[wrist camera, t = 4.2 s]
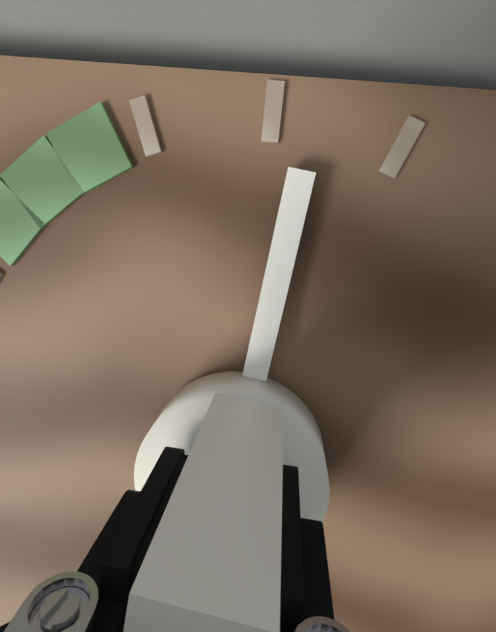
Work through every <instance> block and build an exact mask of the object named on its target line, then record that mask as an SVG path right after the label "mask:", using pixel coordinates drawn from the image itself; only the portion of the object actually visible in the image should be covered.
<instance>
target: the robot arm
mask: <svg viewBox="0 0 496 632" xmlns="http://www.w3.org/2000/svg"><path fill="white" fill-rule="evenodd" d="M187 458H188V455H185V451H184V449H180V448H173V447H167V446H166V447H165V448H164V449H163V451H162V453H161V455H160V457H159V459H158V460H157V462H156V464H155V466H154V468H153V470H152V471H151V473H150V475H149V477H148V479H147V480H146V482H145V484H144V486H143V488H142V490H141V491H135V490H129V489H128V490H127V491H126V492H125V493H124V494H123V496H122V498H121V499H120V501H119V503H118V504H117V506H116V507H115V509H114V511H113V512H112V514H111V516H110V517H109V519H108V521H107V522H106V524H105V526H104V527H103V529H102V531H101V532H100V534H99V536H98V537H97V539H96V541H95V542H94V544H93V545H92V547H91V549H90V550H89V552H88V554H87V555H86V557H85V559H84V560H83V562H82V564H81V565H80V567H79V569H78V570H77V571H74V572H63V573H60V574H56V575H54V576H52V577H50V578H48V579H46V580H44V581H43V582H41V583H40V584H39V585H38V586H36V587H35V588H34V589H33V590H32V591H31V592H30V594H29V595H28V596H27V597H26V598H25V600H24V601H23V603H22V604H21V606H20V608H19V609H18V611H17V612H16V614H15V615H14V617H13V618H12V620H11V621H10V622H8V623H6V624H4V625H2V626H0V632H123V630H124V623H125V617H126V611H127V605H128V599H129V593H130V591H131V588H132V586H133V584H134V581H135V579H136V577H137V574H138V572H139V570H140V567H141V565H142V563H143V560H144V558H145V556H146V553H147V551H148V549H149V546H150V544H151V542H152V539H153V537H154V535H155V532H156V530H157V528H158V525H159V523H160V521H161V518H162V516H163V514H164V511H165V509H166V507H167V504H168V502H169V500H170V497H171V495H172V493H173V490H174V488H175V486H176V483H177V481H178V479H179V476H180V474H181V472H182V469H183V467H184V465H185V462H186V460H187ZM280 632H350V631H349V629H348V628H346V627H345V626H344V625H342V624H341V623H339V622H338V621H336V620H334V611H333V603H332V594H331V586H330V578H329V569H328V561H327V552H326V544H325V536H324V528H323V523H322V521H318V520H312V519H306V518H300V495H299V473H298V467H296V466H290V465H283V483H282V538H281V592H280Z"/></svg>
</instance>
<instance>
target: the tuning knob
mask: <svg viewBox="0 0 496 632" xmlns="http://www.w3.org/2000/svg"><path fill="white" fill-rule="evenodd" d="M315 175H316V172H311V171H306V170H301V169H297V168H292V167H288V170H287V174H286V179H285V183H284V188H283V193H282V197H281V202H280V206H279V211H278V215H277V220H276V224H275V229H274V233H273V238H272V243H271V247H270V252H269V256H268V261H267V265H266V270H265V274H264V279H263V284H262V288H261V293H260V297H259V302H258V306H257V311H256V315H255V320H254V324H253V329H252V334H251V338H250V343H249V347H248V352H247V356H246V361H245V365H244V370H243V372H237V371H229V372H219V373H214V374H209V375H207V376H204V377H201V378H198V379H196V380H194V381H192V382H190V383H189V384H187V385H186V386H185V387H183V388H182V389H180V390H179V391H178V392H177V393H176V394H175V395H174V396H173V397H172V398H171V400H170V401H169V402H168V403H167V405H166V406H165V408H164V409H163V411H162V412H161V414H160V415H159V417H158V418H157V420H156V421H155V423H154V424H153V426H152V427H151V429H150V430H149V432H148V433H147V435H146V437H145V438H144V440H143V442H142V443H141V446H140V448H139V451H138V453H137V457H136V461H135V467H134V485H135V491H141V490H142V488H143V486H144V484H145V482H146V480H147V479H148V477H149V475H150V473H151V471H152V470H153V468H154V466H155V464H156V462H157V460H158V459H159V457H160V455H161V453H162V451H163V449H164V448H165V447H166V446H167V447H173V448H180V449H184V451H185V455H188V458H187V460H186V462H185V465H184V467H183V469H182V472H181V474H180V476H179V479H178V481H177V483H176V486H175V488H174V490H173V493H172V495H171V497H170V500H169V502H168V504H167V507H166V509H165V511H164V514H163V516H162V518H161V521H160V523H159V525H158V528H157V530H156V532H155V535H154V537H153V539H152V542H151V544H150V546H149V549H148V551H147V553H146V556H145V558H144V560H143V563H142V565H141V567H140V570H139V572H138V574H137V577H136V579H135V581H134V584H133V586H132V588H131V591H130V593H129V599H128V605H127V611H126V617H125V623H124V630H123V632H280V592H281V538H282V483H283V465H290V466H296V467H298V473H299V495H300V518H306V519H312V520H318V521H322V523H323V520H324V518H325V515H326V512H327V508H328V504H329V493H330V489H329V478H328V472H327V466H326V459H325V453H324V447H323V441H322V437H321V433H320V429H319V427H318V424H317V422H316V420H315V418H314V416H313V414H312V413H311V411H310V410H309V409H308V407H307V406H306V405H305V403H304V402H303V401H302V400H301V399H300V398H299V397H298V396H297V395H296V394H295V393H293V392H292V391H291V390H289V389H288V388H287V387H285V386H283V385H282V384H280V383H278V382H276V381H274V380H272V379H270V378H267V376H268V372H269V368H270V363H271V359H272V355H273V351H274V347H275V343H276V338H277V334H278V330H279V326H280V322H281V317H282V313H283V309H284V305H285V301H286V296H287V292H288V288H289V284H290V280H291V275H292V271H293V267H294V263H295V259H296V255H297V250H298V246H299V242H300V238H301V234H302V229H303V225H304V221H305V217H306V213H307V208H308V204H309V200H310V196H311V192H312V187H313V183H314V179H315Z"/></svg>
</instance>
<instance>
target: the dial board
mask: <svg viewBox="0 0 496 632" xmlns="http://www.w3.org/2000/svg"><path fill="white" fill-rule="evenodd" d="M288 167H292V168H297V169H301V170H306V171H311V172H316V175H315V179H314V183H313V187H312V192H311V196H310V200H309V204H308V208H307V213H306V217H305V221H304V225H303V229H302V234H301V238H300V242H299V246H298V250H297V255H296V259H295V263H294V267H293V271H292V275H291V280H290V284H289V288H288V292H287V296H286V301H285V305H284V309H283V313H282V317H281V322H280V326H279V330H278V334H277V338H276V343H275V347H274V351H273V355H272V359H271V363H270V368H269V372H268V376H267V378H270V379H272V380H274V381H276V382H278V383H280V384H282V385H283V386H285V387H287V388H288V389H289V390H291V391H292V392H293V393H295V394H296V395H297V396H298V397H299V398H300V399H301V400H302V401H303V402H304V403H305V405H306V406H307V407H308V409H309V410H310V411H311V413H312V414H313V416H314V418H315V420H316V422H317V424H318V427H319V429H320V433H321V437H322V441H323V447H324V453H325V459H326V466H327V472H328V478H329V489H330V493H329V504H328V508H327V512H326V515H325V518H324V520H323V528H324V536H325V544H326V552H327V561H328V569H329V578H330V586H331V594H332V603H333V611H334V620H336V621H338V622H339V623H341V624H342V625H344V626H345V627H346V628H348V629H349V631H350V632H496V90H489V89H474V88H460V87H446V86H431V85H417V84H403V83H389V82H374V81H360V80H346V79H332V78H317V77H303V76H289V75H275V74H260V73H246V72H232V71H218V70H203V69H189V68H175V67H161V66H146V65H132V64H118V63H104V62H89V61H75V60H61V59H47V58H32V57H18V56H4V55H0V626H2V625H4V624H6V623H8V622H10V621H11V620H12V618H13V617H14V615H15V614H16V612H17V611H18V609H19V608H20V606H21V604H22V603H23V601H24V600H25V598H26V597H27V596H28V595H29V594H30V592H31V591H32V590H33V589H34V588H35V587H36V586H38V585H39V584H40V583H41V582H43V581H44V580H46V579H48V578H50V577H52V576H54V575H56V574H60V573H63V572H74V571H77V570H78V569H79V567H80V565H81V564H82V562H83V560H84V559H85V557H86V555H87V554H88V552H89V550H90V549H91V547H92V545H93V544H94V542H95V541H96V539H97V537H98V536H99V534H100V532H101V531H102V529H103V527H104V526H105V524H106V522H107V521H108V519H109V517H110V516H111V514H112V512H113V511H114V509H115V507H116V506H117V504H118V503H119V501H120V499H121V498H122V496H123V494H124V493H125V492H126V491H127V490H128V489H129V490H135V485H134V467H135V461H136V457H137V453H138V451H139V448H140V446H141V443H142V442H143V440H144V438H145V437H146V435H147V433H148V432H149V430H150V429H151V427H152V426H153V424H154V423H155V421H156V420H157V418H158V417H159V415H160V414H161V412H162V411H163V409H164V408H165V406H166V405H167V403H168V402H169V401H170V400H171V398H172V397H173V396H174V395H175V394H176V393H177V392H178V391H179V390H180V389H182V388H183V387H185V386H186V385H187V384H189V383H190V382H192V381H194V380H196V379H198V378H201V377H204V376H207V375H209V374H214V373H219V372H229V371H237V372H243V370H244V365H245V361H246V356H247V352H248V347H249V343H250V338H251V334H252V329H253V324H254V320H255V315H256V311H257V306H258V302H259V297H260V293H261V288H262V284H263V279H264V274H265V270H266V265H267V261H268V256H269V252H270V247H271V243H272V238H273V233H274V229H275V224H276V220H277V215H278V211H279V206H280V202H281V197H282V193H283V188H284V183H285V179H286V174H287V170H288Z"/></svg>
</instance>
